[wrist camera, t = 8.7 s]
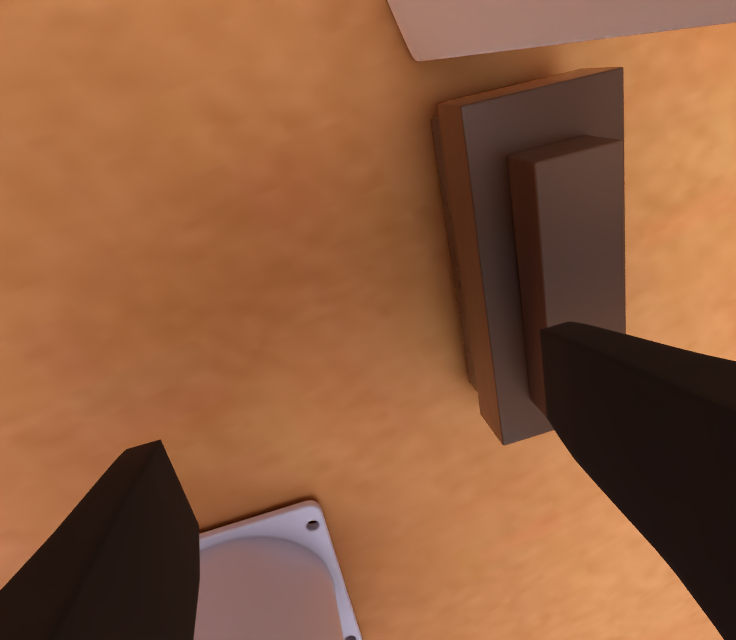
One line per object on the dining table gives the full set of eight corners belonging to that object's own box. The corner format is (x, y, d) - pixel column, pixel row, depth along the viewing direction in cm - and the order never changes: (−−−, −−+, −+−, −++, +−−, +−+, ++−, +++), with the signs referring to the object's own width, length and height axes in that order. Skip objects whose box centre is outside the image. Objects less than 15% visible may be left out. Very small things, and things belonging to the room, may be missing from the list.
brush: (573, 362, 23) (658, 434, 18) (465, 394, 22) (525, 476, 18) (556, 69, 18) (665, 64, 13) (420, 101, 17) (485, 107, 13)
